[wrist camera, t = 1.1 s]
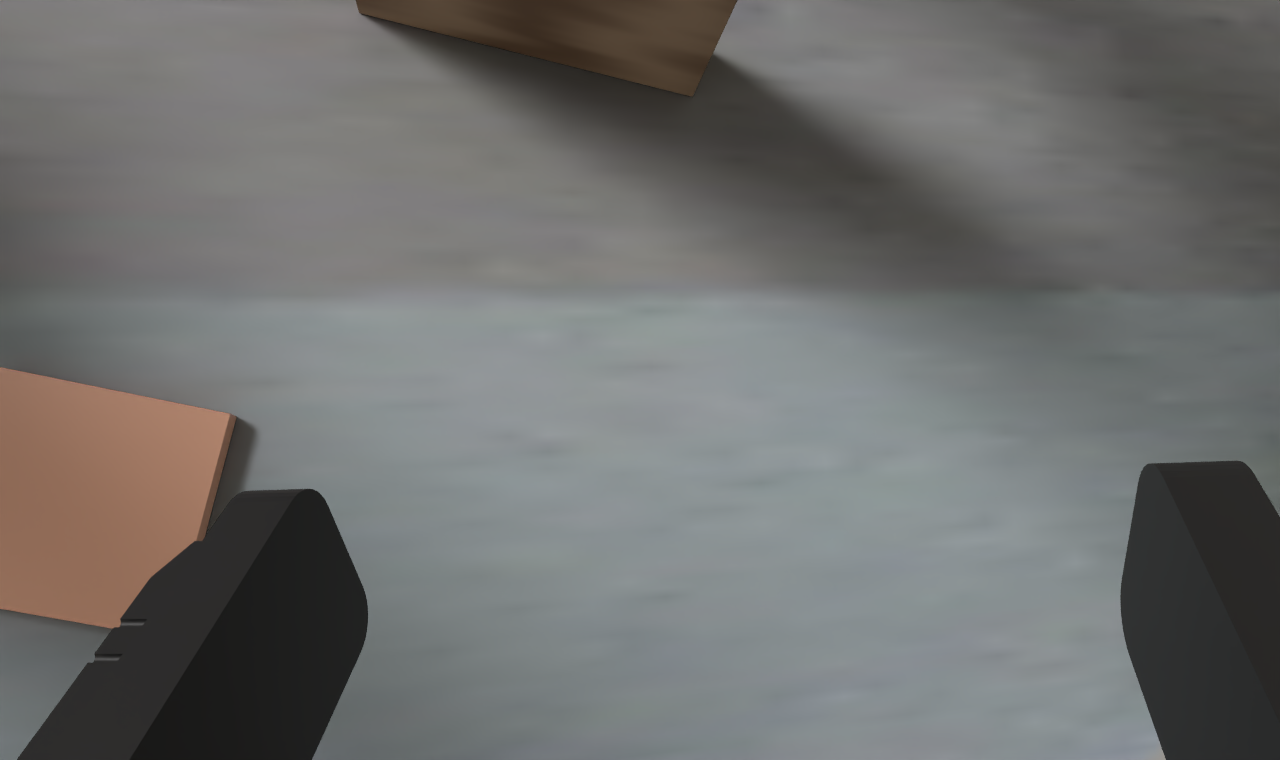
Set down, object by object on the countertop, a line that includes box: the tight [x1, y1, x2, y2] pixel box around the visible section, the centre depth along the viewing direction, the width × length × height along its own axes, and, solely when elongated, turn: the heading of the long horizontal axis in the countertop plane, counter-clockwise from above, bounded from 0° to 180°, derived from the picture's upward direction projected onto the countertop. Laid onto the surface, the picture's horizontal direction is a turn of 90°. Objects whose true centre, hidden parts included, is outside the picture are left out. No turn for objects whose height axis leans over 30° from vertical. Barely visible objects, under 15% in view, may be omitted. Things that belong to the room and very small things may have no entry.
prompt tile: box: [0, 367, 237, 629], centre depth 30 cm, size 7×7×1 cm
